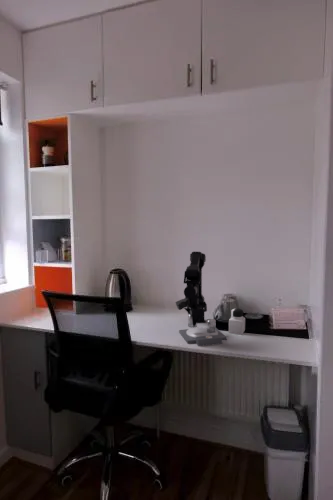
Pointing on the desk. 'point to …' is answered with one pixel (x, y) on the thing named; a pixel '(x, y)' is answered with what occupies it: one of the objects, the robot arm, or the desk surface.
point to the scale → (202, 336)
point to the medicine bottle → (237, 322)
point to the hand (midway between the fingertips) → (192, 324)
